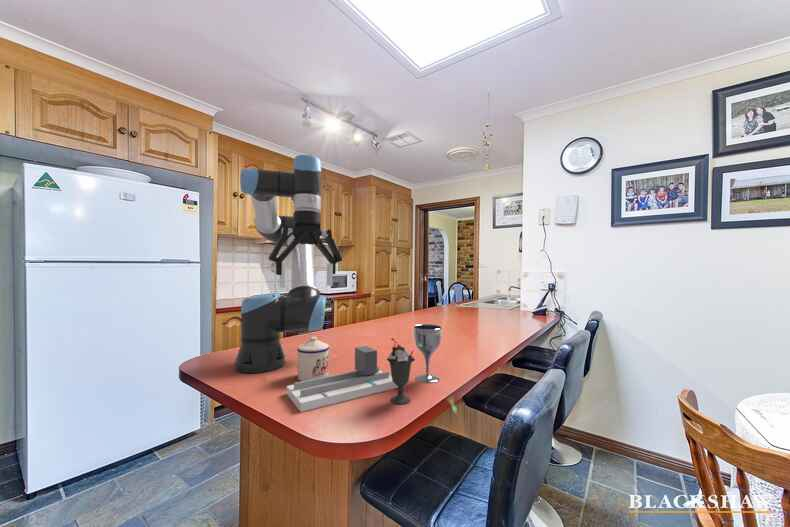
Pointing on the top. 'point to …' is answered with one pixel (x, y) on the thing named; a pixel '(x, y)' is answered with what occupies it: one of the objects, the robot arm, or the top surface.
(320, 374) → the teacup with lid
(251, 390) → the top surface
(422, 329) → the wine glass
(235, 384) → the top surface
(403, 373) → the sundae
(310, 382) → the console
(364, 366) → the fader tab
